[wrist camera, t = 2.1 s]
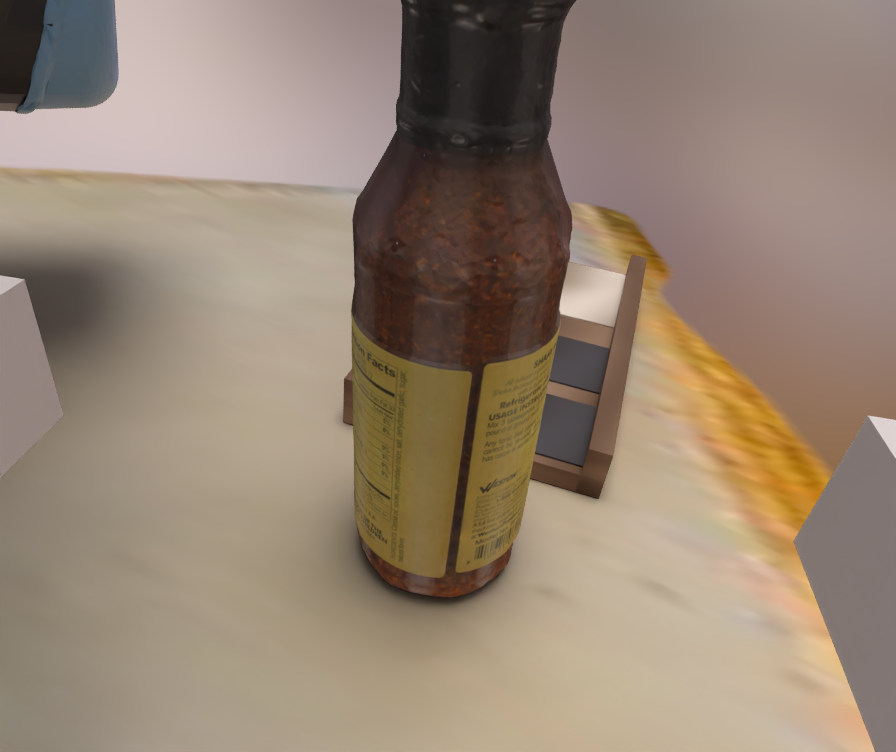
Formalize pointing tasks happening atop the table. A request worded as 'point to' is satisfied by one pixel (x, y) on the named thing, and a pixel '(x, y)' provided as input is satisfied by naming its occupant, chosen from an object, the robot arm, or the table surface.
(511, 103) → the sauce bottle
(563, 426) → the trap channel board
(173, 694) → the table surface
